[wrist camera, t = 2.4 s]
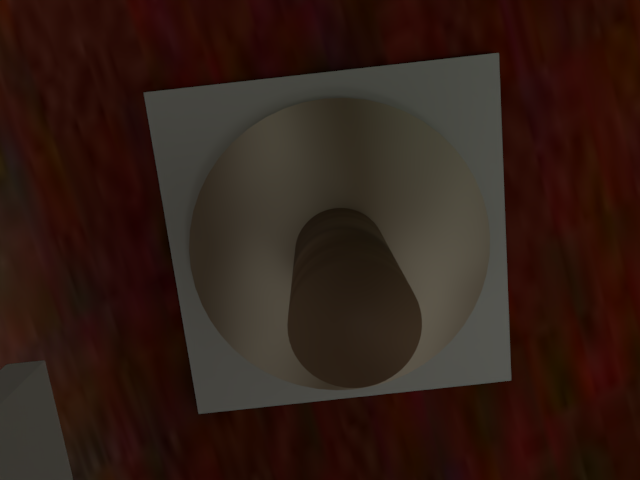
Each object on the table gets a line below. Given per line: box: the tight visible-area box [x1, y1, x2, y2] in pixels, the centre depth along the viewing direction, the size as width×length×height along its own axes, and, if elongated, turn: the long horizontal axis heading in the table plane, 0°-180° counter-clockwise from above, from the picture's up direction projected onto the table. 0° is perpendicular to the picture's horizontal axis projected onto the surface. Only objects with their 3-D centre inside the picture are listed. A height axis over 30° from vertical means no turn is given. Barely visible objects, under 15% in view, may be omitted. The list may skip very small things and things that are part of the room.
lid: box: [189, 98, 490, 390], centre depth 20 cm, size 12×12×9 cm
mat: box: [144, 53, 511, 414], centre depth 25 cm, size 14×14×1 cm
